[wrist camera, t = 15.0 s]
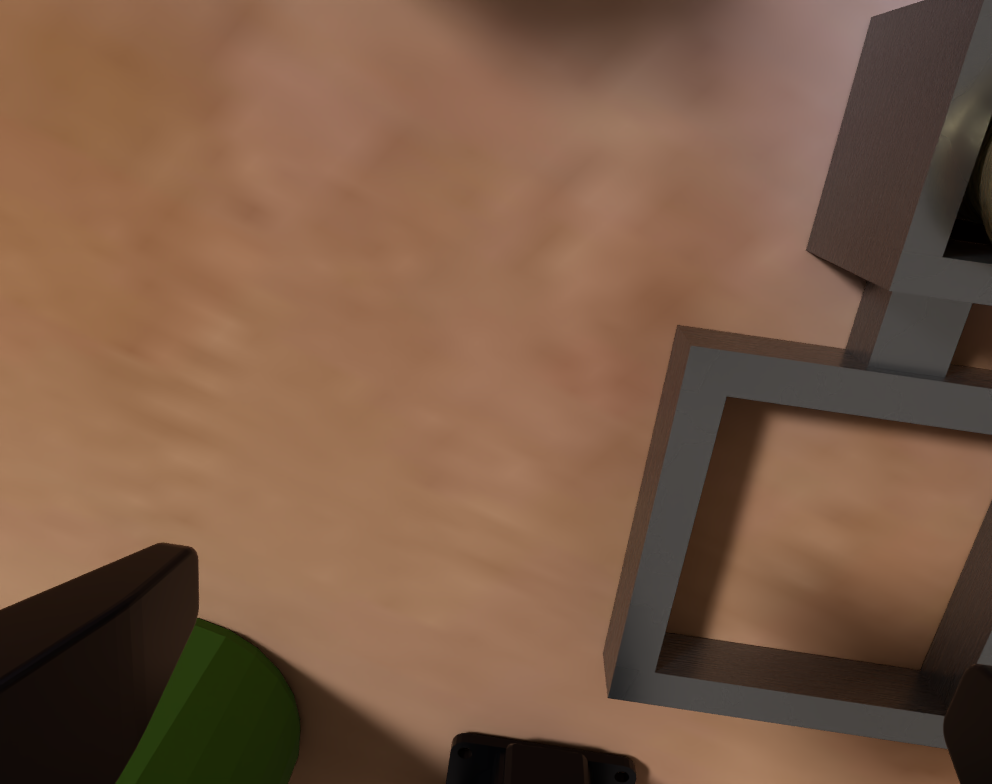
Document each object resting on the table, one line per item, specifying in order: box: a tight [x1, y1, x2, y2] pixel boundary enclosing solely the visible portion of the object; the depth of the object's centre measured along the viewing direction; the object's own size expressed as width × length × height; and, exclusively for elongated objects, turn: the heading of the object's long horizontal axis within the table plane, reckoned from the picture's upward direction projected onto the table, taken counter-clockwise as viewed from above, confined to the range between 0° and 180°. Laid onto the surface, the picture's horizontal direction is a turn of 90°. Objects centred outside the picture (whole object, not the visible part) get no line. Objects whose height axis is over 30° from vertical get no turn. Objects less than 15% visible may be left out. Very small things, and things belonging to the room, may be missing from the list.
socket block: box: [603, 0, 992, 749], centre depth 19 cm, size 20×11×5 cm, turn 172°
